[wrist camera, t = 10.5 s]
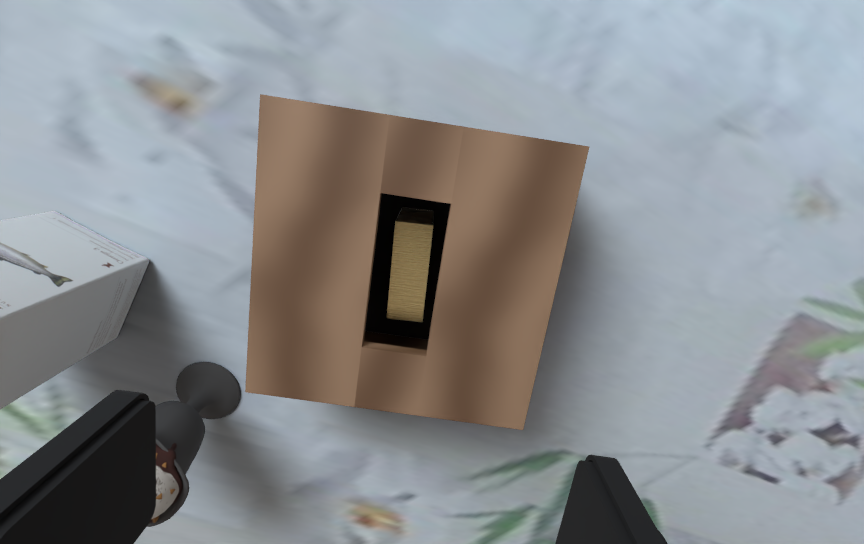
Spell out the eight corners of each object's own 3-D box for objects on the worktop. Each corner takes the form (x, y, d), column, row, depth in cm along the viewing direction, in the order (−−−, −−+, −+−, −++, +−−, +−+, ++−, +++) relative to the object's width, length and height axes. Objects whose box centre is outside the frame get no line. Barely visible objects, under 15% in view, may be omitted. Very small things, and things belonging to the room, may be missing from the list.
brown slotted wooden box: (547, 144, 32) (589, 146, 23) (501, 360, 36) (523, 430, 27) (308, 106, 31) (260, 94, 22) (291, 330, 35) (245, 392, 27)
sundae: (268, 406, 37) (162, 576, 23) (197, 439, 38) (52, 623, 24) (222, 337, 36) (77, 472, 21) (149, 372, 36) (-39, 526, 22)
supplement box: (154, 257, 34) (-3, 323, 22) (118, 339, 36) (-46, 443, 24) (55, 205, 33) (-167, 244, 21) (23, 292, 35) (-199, 375, 23)
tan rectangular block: (433, 225, 27) (422, 322, 29) (433, 210, 33) (424, 291, 35) (395, 221, 27) (386, 318, 29) (402, 206, 33) (394, 288, 35)
